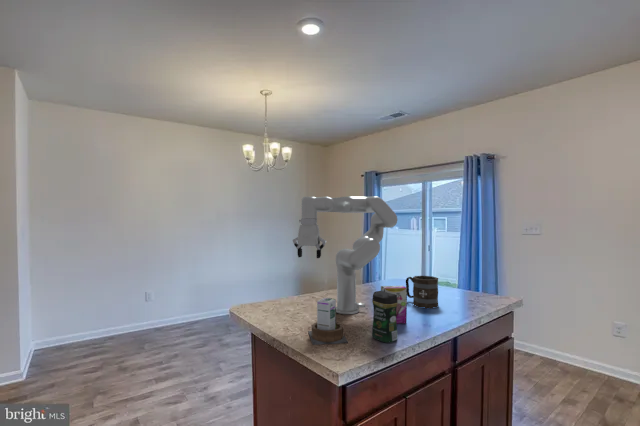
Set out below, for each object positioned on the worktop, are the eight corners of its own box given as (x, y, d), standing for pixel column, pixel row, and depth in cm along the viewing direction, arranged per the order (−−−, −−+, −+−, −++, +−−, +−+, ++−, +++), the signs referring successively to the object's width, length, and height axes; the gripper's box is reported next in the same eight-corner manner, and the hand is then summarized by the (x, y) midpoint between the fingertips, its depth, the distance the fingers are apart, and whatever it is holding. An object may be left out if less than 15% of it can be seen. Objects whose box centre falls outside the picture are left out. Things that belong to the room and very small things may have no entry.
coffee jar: (368, 337, 132) (368, 291, 133) (382, 333, 137) (382, 288, 137) (387, 345, 125) (387, 295, 125) (401, 340, 130) (401, 292, 130)
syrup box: (329, 339, 129) (330, 301, 129) (316, 336, 132) (316, 300, 132) (336, 334, 134) (336, 298, 134) (323, 332, 137) (323, 297, 137)
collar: (340, 330, 140) (340, 320, 140) (348, 342, 127) (348, 331, 127) (308, 332, 138) (308, 321, 138) (312, 344, 125) (312, 332, 125)
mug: (443, 305, 181) (443, 278, 181) (429, 310, 172) (429, 281, 172) (413, 298, 196) (413, 273, 196) (398, 302, 188) (398, 275, 188)
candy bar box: (383, 325, 148) (383, 288, 148) (379, 321, 153) (379, 285, 153) (407, 323, 150) (407, 287, 150) (402, 320, 155) (402, 285, 155)
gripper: (289, 222, 161) (289, 257, 161) (323, 222, 155) (323, 259, 154) (296, 221, 168) (296, 255, 168) (328, 222, 162) (328, 257, 161)
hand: (309, 257), depth 161 cm, fingers open, 9 cm apart
